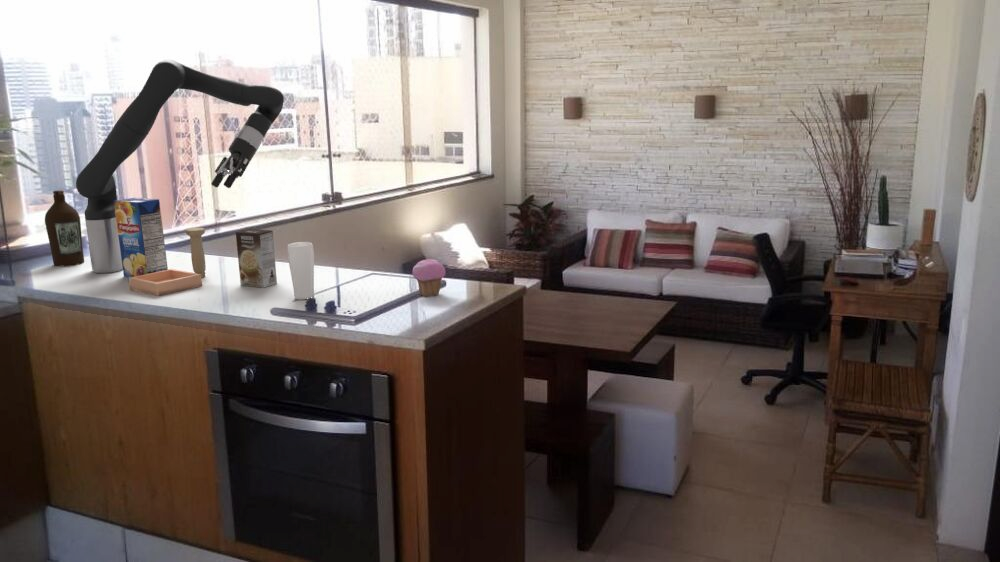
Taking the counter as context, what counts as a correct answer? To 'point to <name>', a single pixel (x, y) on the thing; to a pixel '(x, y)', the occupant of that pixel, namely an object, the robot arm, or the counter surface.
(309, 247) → the drinking glass
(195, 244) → the handle
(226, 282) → the counter surface
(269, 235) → the coffee box
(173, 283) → the tray
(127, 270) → the juice carton
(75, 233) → the olive oil
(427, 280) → the cupcake
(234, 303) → the counter surface
